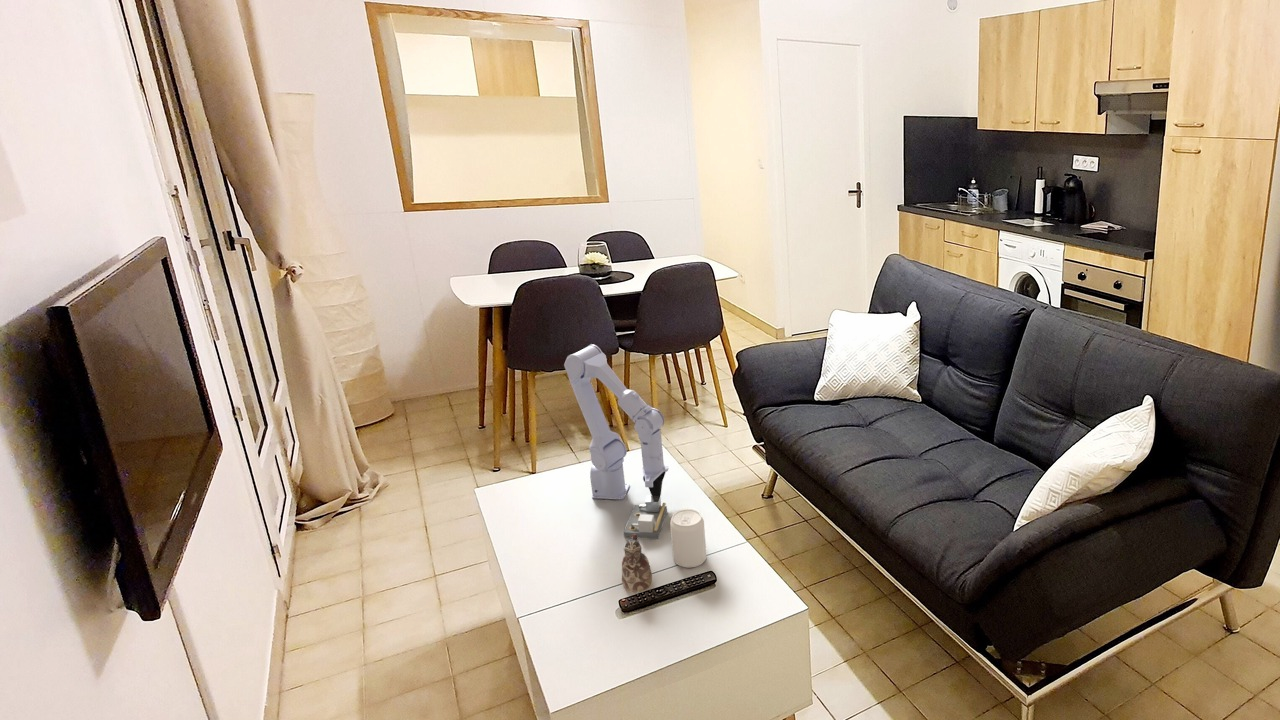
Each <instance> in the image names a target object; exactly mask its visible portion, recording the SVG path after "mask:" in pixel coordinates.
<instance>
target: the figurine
mask: <svg viewBox="0 0 1280 720" xmlns="http://www.w3.org/2000/svg"><path fill="white" fill-rule="evenodd" d="M623 551H624V556H623V558H622V562H621V573H622V574H621V583H622V585H623V587H624V588H625V590H626V591H627V592H628V593H634V594H638V593H642V592H645V591H647V590H649V589H650V587H651V586H652V583H653V573H652V568H651V565H650V562H649V560H648V559H649V558H648V557H647V556H646V555H645V554H644V553H642V545H641V543H640V542H639V540H638V538H637V535H636V534H633V538H631V539H629V540H627V542H625V545H624V548H623ZM641 591H642V592H641ZM637 592H638V593H637Z"/></svg>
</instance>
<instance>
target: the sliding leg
mask: <svg viewBox="0 0 1280 720" xmlns="http://www.w3.org/2000/svg"><path fill="white" fill-rule="evenodd" d="M644 502H645V503H644V504H638V505H639V508H646V511H650V512H659V511H660V508H661V506H662V501H661V495H660V496H652V495H647V496H646V499H645V501H644Z"/></svg>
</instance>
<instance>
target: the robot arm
mask: <svg viewBox="0 0 1280 720" xmlns="http://www.w3.org/2000/svg"><path fill="white" fill-rule="evenodd" d="M563 366H564V369H565V372H566V374H567V376H568V380H569V384H570V386H571V388H572V391H573V394H574V396H575V398H576V401H577V403H578V406H579V408H580V410H581V413H582V416H583V419H584V421H585V423H586V425H587V428H588V430H589V432H590V435H591V437H592V439H591V441H590V444H589V447H588V451H589V452H590V460H591V463H592V465H591V468H590V472H589V474H590V475H589V479H590V485H591V486H590V488H591V493H592V496H591V498H592V499H603V500H605V499H606V500H624V499H625V497H626V494H627V492H628V491H629V488H630V483H626V481H625V472H624V464H623V463H624V461H625V459H624V458H625V457H626V455H627V454H628V450H627V446H626V444H625V443H624V442H623V440H622V439H621V438H620V435H619V433H617V432H615V431H612V430H611V429H610V427H609V424H608V421H607V419H606V417H605V414H604V412H603V409H602V407H601V404H600V402H599V400H598V399H599V398H598V397H597V395H596V392H595V390H594V387H593V385H592V384H593V383H592V382H591V380H592V379H598V380H599V381H600V382H601V383H602V384H603V385H604V386H605V387H607V389H608V390H609V391H611V392H612V393H613V395H615V396H616V397H617V404H618V406H619V407H620V408H621V409H622V411H624V412H625V414H627V416H628V417H629V419H631V420H632V422H633V423H635V424H633V427H634V430H635V432H636V434H638V440H639V442H640V449H641V451H640V452H641V457H642V458H641V459H642V473H643V477H642V480H643V482H644V486H645V488H648V489H649V492H650V496H660V497H661V496H662V489H663V488H662V487H663V481H664V478H665V475H666V472H668V471H669V465H665V461H664V451H663V440H662V439H663V438H662V431H661V428H662V427H664V424H665V417H664V415H663V413H662V412H661V410H659V409H657V408H654V407H652V406H651V405H648V404H647V402H645V401H644V399H642V397H641V396H640V394H639V393H638V392H636V390H635V389H628V388H627V387H626V385H625V384H624V383H623V382H622V380H621V379H620V378H619V377H618V375H617V374H616V373H615V372H614V370H613V369H612V368H611V367H610V365H609V364H608V361H607V355H606V354H605V353H604V352H603V351H602V350H601V348H600V347H599V346H598V345H596V344H589V345H588V346H586V347H584V348H583V349H581V350H579V351H577V352H574V353H572V354H568V355H567V357H566V359H565V362H564V364H563Z"/></svg>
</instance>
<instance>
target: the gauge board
mask: <svg viewBox="0 0 1280 720" xmlns="http://www.w3.org/2000/svg"><path fill="white" fill-rule="evenodd" d="M639 505H640V504H634V506H633V508H632V511H631V513H630V516H629V519H628V521H627V523H626V526H625V529H624V531H623V537H624V538H630V539H632V538H633V534H636V535H637V539H649V540H651V539H652V540H659V537H660V534H661V532H662V531H661V530H662V528H663V525H664V522H665V519H666V516H667V512H668V508H667V507H668V506H667V505H666V502H663V503H662V504H661V508H660V511H659V512H650V511H646V508H639Z"/></svg>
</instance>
